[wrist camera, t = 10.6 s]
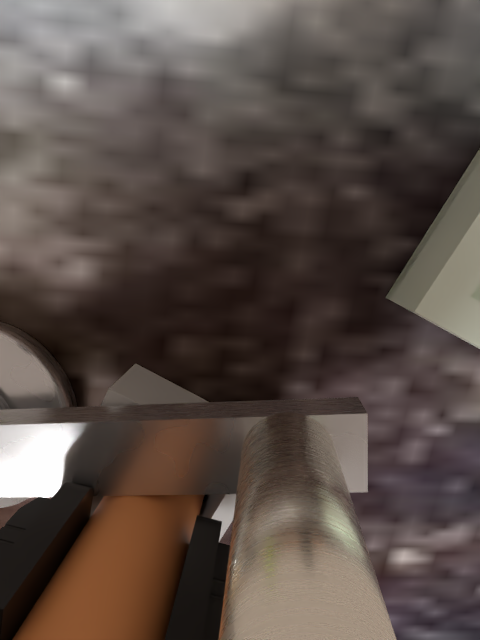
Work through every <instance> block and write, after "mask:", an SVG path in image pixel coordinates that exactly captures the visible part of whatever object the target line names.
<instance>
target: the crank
mask: <svg viewBox="0 0 480 640" xmlns="http://www.w3.org/2000/svg"><path fill="white" fill-rule="evenodd" d="M66 482H70V483H74V484H78V485H82V486H86V487H90V488H93V491H94V493H93V496H136V495H206V494H236V502H235V510H234V518H233V526H232V534H231V542H230V550H229V558H228V566H227V574H226V582H225V591H224V599H223V607H222V615H221V623H220V631H219V639H218V640H396V637H395V634H394V631H393V628H392V625H391V621H390V618H389V615H388V612H387V609H386V606H385V603H384V600H383V596H382V593H381V590H380V587H379V584H378V581H377V578H376V575H375V571H374V568H373V565H372V562H371V559H370V556H369V553H368V550H367V546H366V543H365V540H364V537H363V534H362V531H361V528H360V525H359V521H358V518H357V515H356V512H355V509H354V506H353V503H352V500H351V496H350V493H349V492H368V441H367V412H366V410H365V408H364V407H363V405H362V403H361V401H360V400H359V398H358V397H347V398H318V399H290V400H261V401H233V402H204V403H176V404H147V405H119V406H90V407H62V408H33V409H10V407H9V405H8V404H7V402H6V401H5V399H4V398H3V396H2V395H1V394H0V497H53V496H54V495H55V494H56V492H57V491H58V490H59V489H60V488H61V486H62V485H63V484H64V483H66Z"/></svg>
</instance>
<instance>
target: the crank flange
mask: <svg viewBox="0 0 480 640" xmlns="http://www.w3.org/2000/svg"><path fill="white" fill-rule="evenodd" d="M0 394H1V395H2V396H3V398H4V399H5V401H6V402H7V404H8V405H9V407H10V409H33V408H62V407H77V402H76V397H75V394H74V391H73V388H72V385H71V383H70V381H69V379H68V377H67V375H66V373H65V372H64V370H63V369H62V367H61V365H60V364H59V363H58V361H57V360H56V359H55V358H54V356H53V355H52V354H51V353H50V352H49V351H48V350H47V349H46V348H45V347H44V346H43V345H42V344H41V343H39V342H38V341H37V340H35V339H34V338H33V337H32V336H30V335H28V334H27V333H25V332H23V331H22V330H20V329H18V328H16V327H14V326H11V325H9V324H7V323H3V322H0ZM28 498H30V497H0V508H3V507H8V506H11V505H15V504H18V503H20V502H22V501H24V500H26V499H28Z"/></svg>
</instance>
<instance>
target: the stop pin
mask: <svg viewBox="0 0 480 640" xmlns="http://www.w3.org/2000/svg"><path fill="white" fill-rule="evenodd" d="M203 498H204V495H136V496H104V497H103V498H102V500H101V502H100V503H99V505H98V506H97V508H96V509H95V511H94V513H93V514H92V516H91V517H90V519H89V520H88V522H87V523H86V525H85V527H84V528H83V530H82V531H81V533H80V534H79V536H78V538H77V539H76V541H75V542H74V544H73V545H72V547H71V549H70V550H69V552H68V553H67V555H66V556H65V558H64V559H63V561H62V563H61V564H60V566H59V567H58V569H57V570H56V572H55V574H54V575H53V577H52V578H51V580H50V581H49V583H48V585H47V586H46V588H45V589H44V591H43V592H42V594H41V595H40V597H39V599H38V600H37V602H36V603H35V605H34V606H33V608H32V610H31V611H30V613H29V614H28V616H27V617H26V619H25V621H24V622H23V624H22V625H21V627H20V628H19V630H18V631H17V633H16V635H15V636H14V638H13V639H12V640H165V636H166V632H167V628H168V625H169V621H170V617H171V613H172V609H173V605H174V602H175V598H176V594H177V590H178V586H179V582H180V578H181V575H182V571H183V567H184V563H185V559H186V555H187V552H188V548H189V544H190V540H191V536H192V532H193V529H194V525H195V521H196V517H197V515H199V514H200V510H201V506H202V502H203Z"/></svg>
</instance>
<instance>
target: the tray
mask: <svg viewBox="0 0 480 640" xmlns="http://www.w3.org/2000/svg"><path fill="white" fill-rule="evenodd" d="M385 298H387V299H389V300H391V301H392V302H394V303H396V304H398V305H400V306H402V307H403V308H405V309H407V310H409V311H411V312H413V313H414V314H416V315H418V316H420V317H422V318H424V319H425V320H427V321H429V322H431V323H433V324H435V325H436V326H438V327H440V328H442V329H444V330H446V331H447V332H449V333H451V334H453V335H455V336H457V337H458V338H460V339H462V340H464V341H466V342H468V343H469V344H471V345H473V346H475V347H477V348H479V349H480V149H479V150H478V152H477V153H476V155H475V157H474V158H473V160H472V161H471V163H470V164H469V166H468V168H467V169H466V171H465V172H464V174H463V175H462V177H461V179H460V180H459V182H458V183H457V185H456V187H455V188H454V190H453V191H452V193H451V194H450V196H449V198H448V199H447V201H446V202H445V204H444V206H443V207H442V209H441V210H440V212H439V213H438V215H437V217H436V218H435V220H434V221H433V223H432V224H431V226H430V228H429V229H428V231H427V232H426V234H425V236H424V237H423V239H422V240H421V242H420V243H419V245H418V247H417V248H416V250H415V251H414V253H413V255H412V256H411V258H410V259H409V261H408V262H407V264H406V266H405V267H404V269H403V270H402V272H401V274H400V275H399V277H398V278H397V280H396V281H395V283H394V285H393V286H392V288H391V289H390V291H389V292H388V294H387V296H386V297H385Z"/></svg>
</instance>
